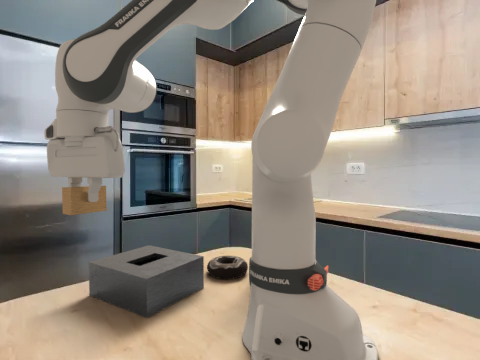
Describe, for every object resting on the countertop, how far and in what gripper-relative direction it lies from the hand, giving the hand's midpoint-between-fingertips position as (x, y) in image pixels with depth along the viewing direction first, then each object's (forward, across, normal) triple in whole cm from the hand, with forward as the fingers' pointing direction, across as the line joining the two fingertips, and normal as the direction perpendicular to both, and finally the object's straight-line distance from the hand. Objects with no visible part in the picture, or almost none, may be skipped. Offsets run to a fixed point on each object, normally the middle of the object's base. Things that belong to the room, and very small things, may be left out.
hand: (85, 201), depth 58 cm
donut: (+24, -8, -37) cm, 45 cm away
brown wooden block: (+2, 0, 0) cm, 2 cm away
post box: (+24, +1, -16) cm, 29 cm away
